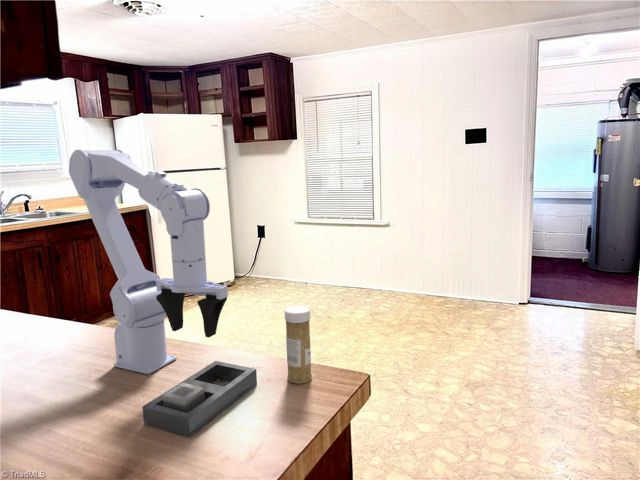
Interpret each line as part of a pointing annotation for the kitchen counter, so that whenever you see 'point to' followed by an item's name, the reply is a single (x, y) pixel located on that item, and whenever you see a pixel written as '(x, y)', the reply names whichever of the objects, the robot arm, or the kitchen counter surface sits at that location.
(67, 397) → the kitchen counter surface
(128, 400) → the kitchen counter surface
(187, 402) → the gray block
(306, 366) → the sprinkles bottle
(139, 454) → the kitchen counter surface
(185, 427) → the grey rectangular tray
